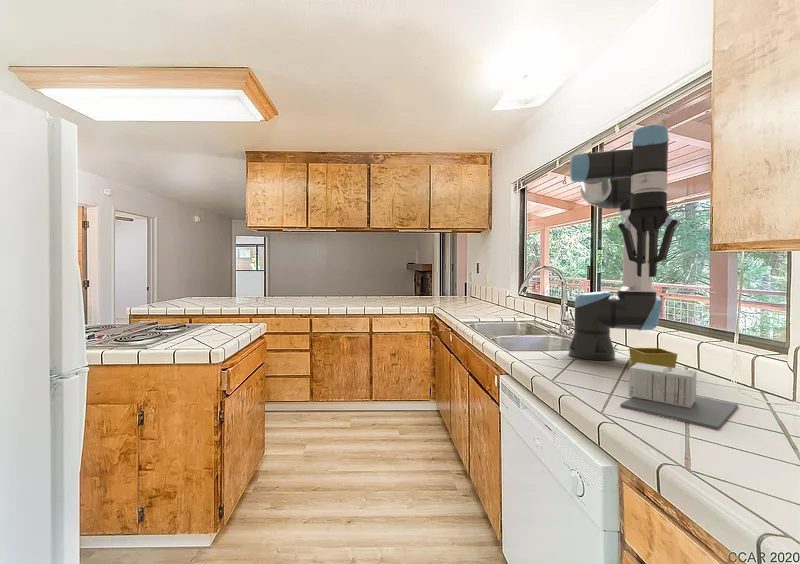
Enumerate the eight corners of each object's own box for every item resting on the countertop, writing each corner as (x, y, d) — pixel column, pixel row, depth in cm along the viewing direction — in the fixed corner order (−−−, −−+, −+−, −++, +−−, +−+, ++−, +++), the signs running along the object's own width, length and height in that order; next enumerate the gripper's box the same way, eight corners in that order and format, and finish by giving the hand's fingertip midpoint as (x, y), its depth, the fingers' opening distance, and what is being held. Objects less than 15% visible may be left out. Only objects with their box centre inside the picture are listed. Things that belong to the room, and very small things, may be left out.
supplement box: (636, 361, 104) (697, 370, 96) (635, 390, 104) (696, 401, 96) (628, 366, 99) (692, 376, 90) (628, 397, 99) (691, 409, 90)
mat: (649, 389, 107) (650, 387, 107) (737, 406, 94) (738, 404, 94) (620, 406, 94) (620, 404, 94) (718, 429, 80) (718, 426, 80)
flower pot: (627, 377, 119) (628, 347, 118) (658, 378, 118) (659, 347, 118) (643, 386, 110) (644, 353, 110) (677, 387, 109) (678, 353, 109)
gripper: (613, 194, 101) (612, 290, 102) (675, 187, 91) (673, 292, 92) (625, 197, 106) (623, 288, 107) (684, 191, 96) (682, 290, 97)
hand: (646, 290), depth 100 cm, fingers closed
